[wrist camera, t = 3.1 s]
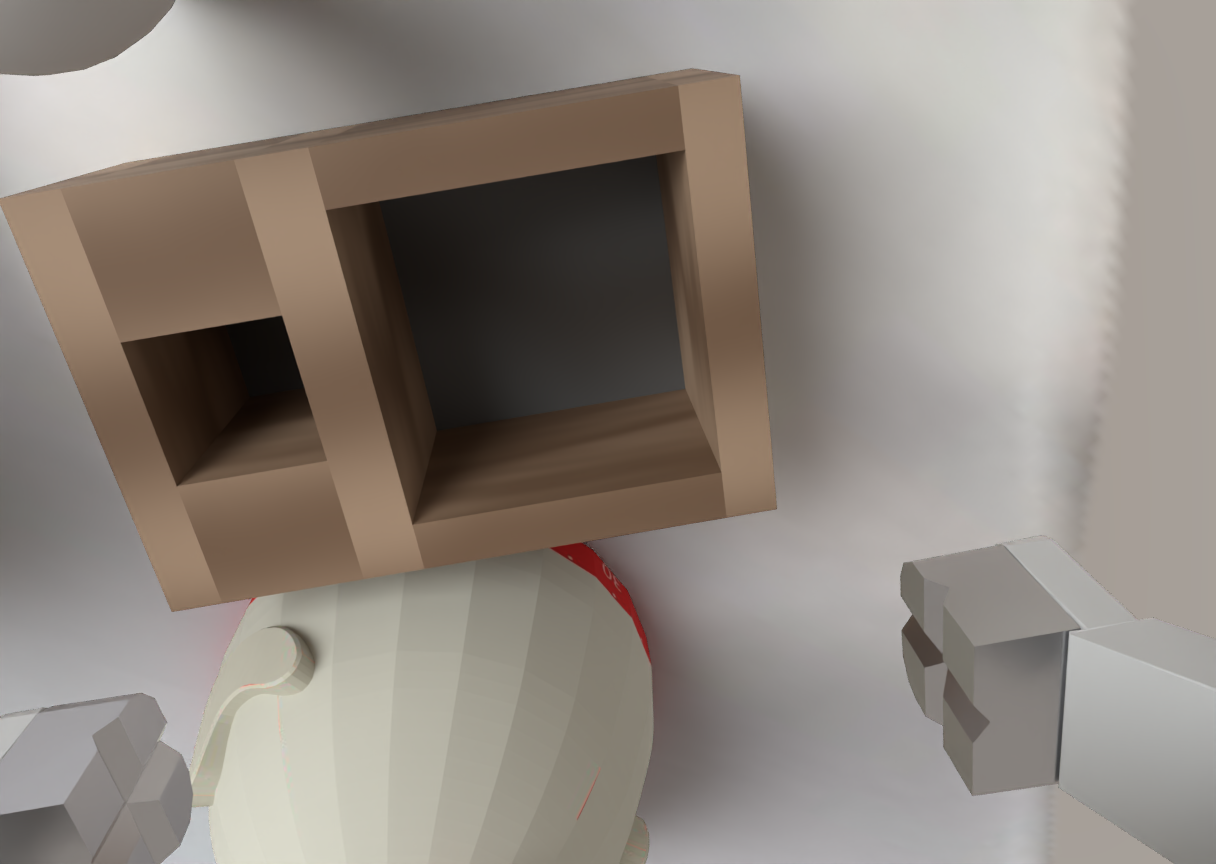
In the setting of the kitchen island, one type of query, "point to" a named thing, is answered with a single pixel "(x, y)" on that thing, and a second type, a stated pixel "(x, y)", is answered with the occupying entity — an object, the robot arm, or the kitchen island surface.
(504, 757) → the kitchen timer
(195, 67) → the kitchen island surface
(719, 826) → the kitchen island surface
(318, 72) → the kitchen island surface
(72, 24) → the lightbulb
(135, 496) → the socket block
